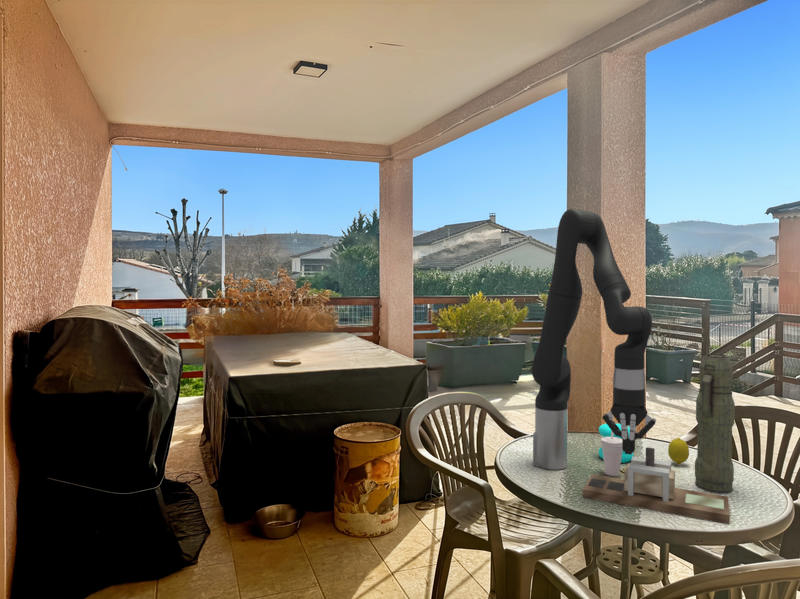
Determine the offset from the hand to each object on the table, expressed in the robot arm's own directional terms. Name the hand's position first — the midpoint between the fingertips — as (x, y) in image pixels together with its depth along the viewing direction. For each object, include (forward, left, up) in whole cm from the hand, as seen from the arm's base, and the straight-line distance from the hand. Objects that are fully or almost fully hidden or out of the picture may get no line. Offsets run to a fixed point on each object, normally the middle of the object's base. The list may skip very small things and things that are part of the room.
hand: (628, 453), depth 139 cm
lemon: (+10, +32, -11) cm, 35 cm away
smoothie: (-6, +15, -11) cm, 20 cm away
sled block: (+5, 0, -9) cm, 10 cm away
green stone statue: (+19, +17, -11) cm, 28 cm away
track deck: (+6, 0, -11) cm, 13 cm away
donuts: (-7, +29, -11) cm, 32 cm away
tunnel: (+5, 0, -9) cm, 10 cm away
